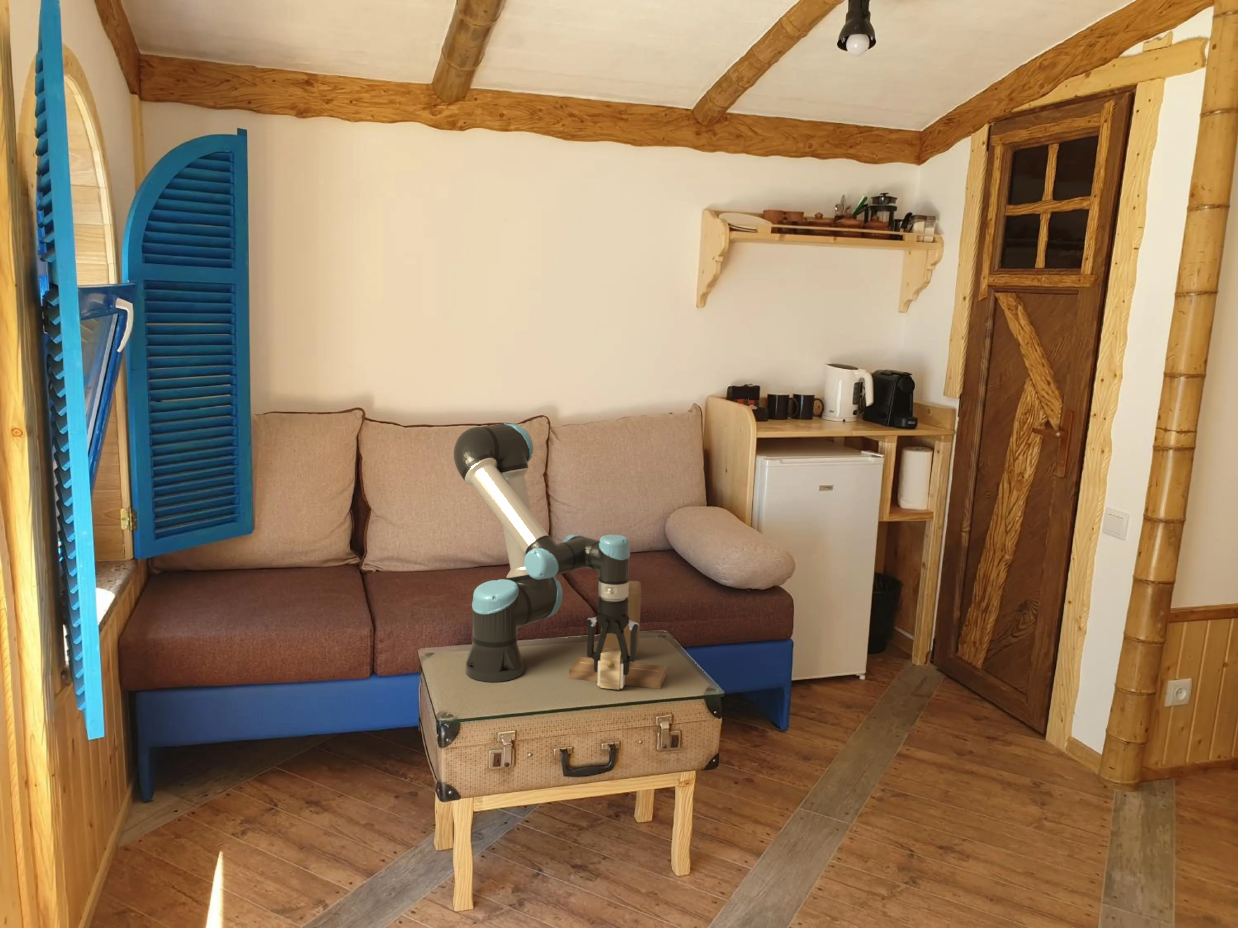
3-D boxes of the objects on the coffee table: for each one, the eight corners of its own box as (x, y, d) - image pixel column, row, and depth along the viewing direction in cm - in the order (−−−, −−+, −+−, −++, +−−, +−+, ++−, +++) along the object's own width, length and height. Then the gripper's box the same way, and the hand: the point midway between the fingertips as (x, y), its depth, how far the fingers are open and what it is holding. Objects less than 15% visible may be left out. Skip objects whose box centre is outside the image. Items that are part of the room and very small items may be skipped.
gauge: (599, 687, 249) (600, 653, 247) (611, 668, 262) (612, 636, 260) (618, 690, 248) (619, 656, 246) (629, 670, 261) (630, 638, 259)
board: (569, 678, 255) (569, 668, 255) (577, 665, 264) (578, 656, 264) (660, 688, 251) (660, 679, 250) (666, 675, 259) (666, 666, 259)
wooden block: (639, 648, 278) (641, 580, 275) (636, 661, 268) (638, 591, 265) (603, 645, 279) (606, 578, 276) (599, 658, 269) (602, 588, 266)
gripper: (574, 598, 244) (572, 686, 248) (645, 604, 241) (643, 694, 245) (582, 589, 252) (580, 675, 256) (651, 595, 248) (648, 683, 252)
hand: (610, 684), depth 250 cm, fingers closed on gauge, 5 cm apart
